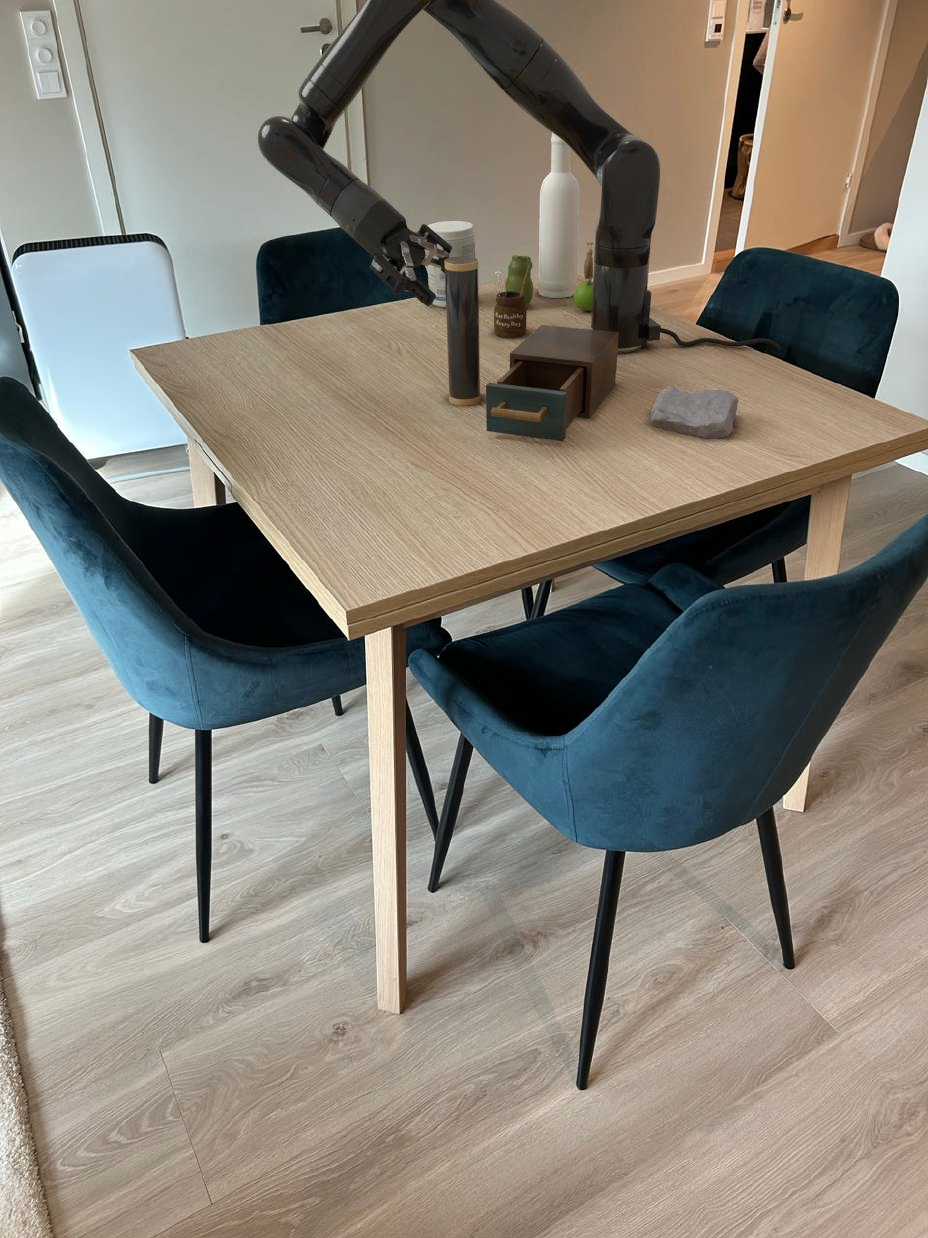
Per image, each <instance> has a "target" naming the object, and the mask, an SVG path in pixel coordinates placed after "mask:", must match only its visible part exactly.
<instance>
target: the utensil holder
mask: <svg viewBox="0 0 928 1238" xmlns="http://www.w3.org/2000/svg"><path fill="white" fill-rule="evenodd" d="M528 268H529V265H528ZM528 268H527V271H526V275H525V278H524V282H523V286H522V289H521V292H516V291H506V288H505V287H503V285H499V284H497V280H498V279H495V281H494V282H493V285H494V286H495V290H496V292H497V294H496V295H495V303H496V304H495V305H494V309H493V329H494V330H493V331H494V334H495V335H496V336H497V337H500V338H506V339H514V338H515V339H516V338H519V337H522V336H525V334H526V333H527V320H528V319H527V306H525V304H524V301H525V297H524V294H523V293H522V292H523V289H524V285H525V281H526V277H527V273H528ZM497 274H498V277H499V278H501V277H502V278H503V279H504V281H502V280H501V282H500V280H499V281H498V282H499V283H503V282H504V284H505V282H506V280H507V276H506V274H505V272H503V271H501V270H499V271H496V272H495V273H494V275H493V276H494V277H497ZM501 275H503V276H501ZM498 285H499V286H498ZM499 287H500V288H501V289H504V291H503V290H499ZM507 289H508V284H507Z"/></svg>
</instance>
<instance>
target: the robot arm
mask: <svg viewBox="0 0 928 1238" xmlns="http://www.w3.org/2000/svg"><path fill="white" fill-rule="evenodd" d="M423 11H424V12H425V13H427V14H428V15H430V17H431V18H432V19H434V20H435V21H436V22H438V23H439V24H440V25H441V26H443V27H444V28H445V29H446V30H447V31H448V32H449V33H450V34H451V35H452V36H454V38H456V40H457V41H458V42H459V43H460V44H461V46H463V47H464V49H465V50H466V51H467V53H468V54H469V55H470V57H472V59H473V60H474V61H475V62H476V63H477V64H478V66H479V67H480V68H481V69H482V70H483V72H485V74H486V75H487V76H488V77H489V78H490V79H492V81H493V82H494V83H495V84H496V86H498V88H499V89H500V90H502V92H503V93H505V94H506V96H507V97H508V98H510V99H511V100H512V101H513V102H514V104H516V105H517V106H518V107H519V108H520V109H521V110H522V111H523V112H525V113H526V115H528V116H529V117H531V118H532V119H533V120H535V122H537V123H538V124H539V125H541V126H542V127H544V128H545V129H546V130H548V131H549V132H550V133H551V134H552V133H554V134H555V135H557V136H558V137H559V138H561V139H562V140H563V141H564V142H565V143H566V144H567V145H569V147H570V148H571V150H572V151H573V152H574V153H575V154H576V155H577V157H578V158H579V159H580V161H582V162H583V164H584V166H585V167H586V168H587V169H588V170H589V171H590V173H591V174H592V175H593V177H595V179H596V180H597V182H598V183H599V185H600V186H601V191H600V193H601V194H600V210H599V218H598V221H597V222H598V223H597V224H596V226H595V235H594V252H593V254H594V255H593V278H592V282H593V294H592V310H591V315H590V316H591V319H590V326H589V327H588V329H590V330H600V331H610V332H619V335H618V351H617V354H623V353H632V352H636V351H639V350H640V349H646V348H648V342H652V341H653V342H654V341H660V339H661V334H664V335H667V336H670V337H671V338H672V339H674V341H675V343H676V344H677V345H678V346H681V347H684V348H689V347H693V346H696V345H700V344H705V343H706V344H707V343H708V344H714V345H720V346H723V347H732V348H733V347H737V348H738V347H745V346H750V345H757V344H765V345H769V346H771V347H773V348H774V349H775V350H779V351H781V350H782V347H781V346H780V345H779V344H778V343H777V342H776V341H774V340H771V339H770V338H760V337H759V338H753V339H748V340H747V339H746V340H741V341H730V340H729V341H728V340H723V339H718V338H714V337H713V338H712V337H700V338H696V339H694V340H691V341H683V340H682V339H680V337H679V335H678V334H677V333H676V332H675V331H672V330H670V329H668V328H663V327H662V326H661V324H660V323H658V322H656V321H655V320H654V319H652V318H651V317H650V316H651V304H652V302H651V301H652V292H651V290H650V289H648V284H649V271H650V270H649V269H650V258H651V257H650V256H651V243H652V236H653V231H654V228H655V225H656V220H657V213H658V203H659V195H660V184H661V162H660V157H659V155H658V153H657V151H656V149H655V148H654V147H653V146H652V145H651V144H650V143H649V142H647V141H646V140H644V139H643V138H641V137H640V136H638V135H636V134H634V133H633V132H631V131H630V130H628V129H627V128H625V127H624V126H623V125H622V124H621V123H620V122H618V121H617V120H616V119H615V118H613V117H612V116H611V115H610V114H609V113H608V112H607V111H606V110H604V109H603V108H602V107H601V106H600V105H599V104H598V103H597V102H596V100H595V99H594V98H593V97H592V95H591V93H590V91H588V89H587V87H586V86H585V85H584V83H583V81H582V80H581V79H580V77H579V76H578V75H577V73H576V72H575V71H574V69H573V68H572V66H571V65H570V64H569V63H568V62H567V61H566V60H565V58H564V57H563V56H562V55H561V54H560V52H558V51H557V49H556V48H555V47H553V46H552V44H551V43H549V42H548V40H547V39H546V38H545V37H544V36H543V35H542V34H540V32H538V31H537V30H536V29H535V28H534V27H533V26H531V25H530V24H529V23H528V22H526V21H525V20H524V19H523V18H521V17H520V16H519V15H518V14H516V13H515V12H513V11H512V10H511V9H509V8H507V7H506V6H504V5H503V4H501V3H500V2H499V1H497V0H365V1H364V2H363V4H362V5H361V7H359V10H357V12H356V13H355V15H354V16H353V17H352V18H351V20H349V22H348V23H347V25H345V27H344V28H343V29H342V31H340V33H339V34H338V35H337V36H336V37H335V39H334V40H333V41H332V42H331V43H330V44H329V46H328V48H326V49H325V51H324V52H323V54H322V55H321V56H320V58H319V59H318V61H317V62H316V63H315V65H313V67H312V69H311V70H310V72H309V73H308V74H307V76H306V77H305V78H304V80H303V81H302V83H301V84H300V86H299V89H298V93H297V94H298V99H299V103H298V105H297V107H296V109H295V110H294V112H293V114H292V116H291V117H286V116H283V115H275V116H271V117H269V118H267V119H266V120H265V121H263V123H262V124H261V125H260V127H259V129H258V133H257V144H258V145H257V146H258V148H259V151H260V153H261V156H262V157H263V158H264V160H265V161H266V162H267V163H268V164H269V165H270V166H272V167H273V168H274V169H275V170H276V171H277V172H279V173H280V174H282V176H284V177H285V178H287V180H289V181H290V182H292V184H294V185H295V186H296V187H298V188H299V189H301V190H302V191H304V192H305V194H306V195H308V196H309V198H310V199H312V201H313V202H314V203H315V204H316V205H317V206H318V207H320V208H321V209H322V210H323V211H324V212H325V213H326V214H328V215H329V216H330V218H331V219H333V220H334V222H336V224H337V226H339V227H340V228H341V230H342V231H344V232H345V233H346V234H347V235H348V236H349V237H350V238H351V239H353V240H354V241H355V242H356V243H357V244H358V245H359V246H361V248H362V249H364V251H366V252H367V253H368V254H369V255H370V256H371V257H373V259H372V262H371V264H370V266H369V268H370V271H372V272H373V273H374V274H375V275H376V276H377V277H378V278H379V279H380V280H381V281H382V282H383V283H384V284H385V285H386V286H388V288H389V289H390V290H391V291H393V293H395V294H400V293H401V292H402V291H404V292H407V293H408V292H409V293H410V294H411V295H412V296H414V297H415V298H416V299H417V300H418V301H419V302H420V303H422V304H423V305H425V306H426V307H430V306H431V305H433V304H432V303H433V301H434V300H435V298H436V295H435V293H434V292H432V291H431V290H430V289H429V286H427V285H426V284H425V283H424V282H423V281H422V280H421V279H420V278H417V276H416V274H415V271H414V269H415V268H417V267H420V266H421V265H422V266H424V267H427V266H428V265H433V266H436V267H439V268H441V271H442V272H443V273H445V267H444V261H445V259H447V258H450V257H449V254H450V252H451V250H452V246H451V245H450V244H448V243H447V242H446V241H445V240H444V239H442V238H441V237H440V236H439V235H438V234H437V233H435V232H434V231H433V230H432V229H431V228H429V227H428V225H427V224H425V223H422V224H421V225H420V227H419V229H418V230H417V231H416V232H415V231H413V230H411V229H410V228H409V227H408V225H407V219H406V217H405V216H404V215H403V214H402V213H401V212H400V211H398V210H397V208H395V207H394V206H393V205H392V204H391V203H390V202H388V200H387V199H385V198H384V197H383V196H382V195H381V194H380V193H378V192H377V191H376V190H375V189H374V188H373V187H371V186H370V185H368V183H366V182H364V181H363V180H362V179H360V177H358V176H357V175H356V174H355V173H354V172H353V171H352V170H350V169H349V168H348V167H347V166H346V165H345V164H344V163H342V162H341V161H339V160H338V159H337V158H335V157H333V156H332V155H330V153H328V152H327V151H326V150H325V147H326V145H327V143H328V142H329V139H330V137H331V135H332V133H333V131H334V128H335V126H336V124H337V122H338V120H339V119H340V118H341V117H342V115H343V114H344V113H345V112H346V110H347V109H348V108H349V107H350V105H351V104H352V103H353V101H354V100H355V99H356V97H357V96H358V95H359V93H360V92H361V90H362V89H363V87H364V86H365V85H366V84H367V82H368V80H369V79H370V78H371V76H372V75H373V73H374V71H375V70H376V68H377V67H378V65H379V64H380V63H381V61H382V59H383V58H384V57H385V55H386V54H387V52H388V51H389V49H390V48H391V46H392V45H393V44H394V42H395V41H396V40H397V38H398V37H399V35H401V33H402V32H403V31H404V30H405V29H406V28H407V27H408V26H409V24H410V23H411V22H412V21H413V20H414V19H415V18H416V17H417V16H418V15H419V14H420V13H421V12H423ZM437 244H439V245H440V246H441V247H442V248H443V250H441V249H438V248H437ZM427 250H428V252H427ZM433 256H437V257H438V259H435V258H433ZM392 277H393V278H394V279H395V280H396V281H395V280H394V279H393V278H392Z"/></svg>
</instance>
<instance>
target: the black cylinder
mask: <svg viewBox="0 0 928 1238" xmlns="http://www.w3.org/2000/svg"><path fill="white" fill-rule="evenodd" d="M444 267H445V286H446V308H445V309H446V310H445V311H446V336H447V337H446V339H447V340H446V342H447V367H448V371H447V372H448V401H449V403H451V404H452V405H455V406H461V407H462V406H463V407H465V406H473V405H476V404H478V403H480V402H481V400H482V399H481V397H482V396H481V363H480V359H481V357H480V356H481V355H480V305H479V304H480V302H479V301H480V300H479V299H480V298H479V296H480V295H479V294H480V293H479V292H480V291H479V259H478V258H477V257H476V256H475V257H469V256H456V257H450V258H447V259H445V261H444Z"/></svg>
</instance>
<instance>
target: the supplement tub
mask: <svg viewBox="0 0 928 1238" xmlns="http://www.w3.org/2000/svg"><path fill="white" fill-rule="evenodd" d="M427 226H428V227H429V228H431V229H432V230H433V231H434V232H435V233H437V234H438V235H439V236H440V237H441V238H442V239H444V240H445V241H446V242H447V243H448V244H450V245H451V246H452V250H451V252H450V254H449V257H456V256H469V257H475V258H476V241H475V240H476V238H475V230H474V224H473V223H472V222H469V221H463V220H444V221H437V222H433V223H429V224H428V225H427ZM437 248H438V249H441V250H443V248H442V247H441V246H440V245H439V244H437ZM427 252H428V250H426V253H427ZM433 258H435V259H438V257H437V256H433ZM426 267H427V282H428V283H427V284H428V288H429V289H430V290H431V291H432V292H434V293H435V295H436V298H435V300H434V301H433V303H432V304H431V305H433V306H435V307H438V308H443V309H446V286H445V273H443V272H442V271H441V268H439V267H436V266H433V265H428V266H426Z"/></svg>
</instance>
